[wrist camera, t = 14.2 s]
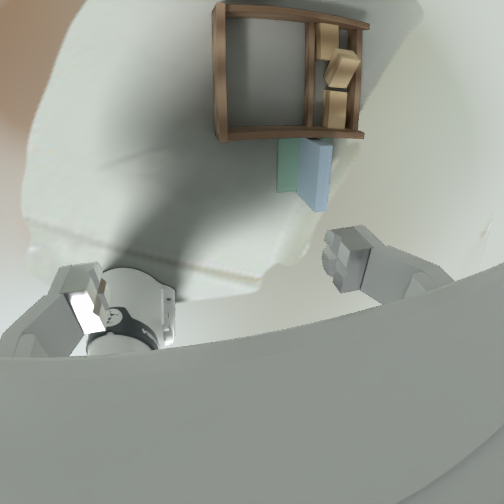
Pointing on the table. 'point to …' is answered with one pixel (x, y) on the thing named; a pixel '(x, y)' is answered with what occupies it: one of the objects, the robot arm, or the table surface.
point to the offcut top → (341, 68)
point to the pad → (289, 163)
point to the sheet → (314, 172)
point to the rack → (353, 87)
